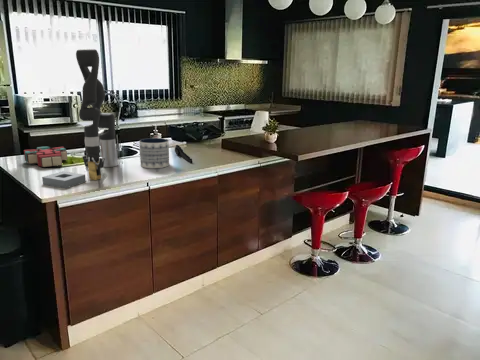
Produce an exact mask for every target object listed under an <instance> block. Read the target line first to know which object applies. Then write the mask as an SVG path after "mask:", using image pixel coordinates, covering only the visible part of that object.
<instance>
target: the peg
mask: <svg viewBox="0 0 480 360" xmlns="http://www.w3.org/2000/svg"><path fill="white" fill-rule="evenodd" d="M96 163H99V161H98V162H96ZM87 168H88V180H91V181H97V180H100V179H102V173H101V174H100V175H99V176H97V173H96V165H95V162H91V161H90V162H89V161H88V167H87ZM101 169H102V168H101ZM101 169H100V170H101ZM101 171H102V170H101Z"/></svg>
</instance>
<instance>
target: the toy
mask: <svg viewBox="0 0 480 360" xmlns="http://www.w3.org/2000/svg"><path fill="white" fill-rule="evenodd" d="M23 155H24V161H25V163H28V164H37V167H42V168H46V167H47V168H48V167H57V166H63V161H65V160H68V151H67V149H66V148H65V147H64V146H58V147H51V146H37V147H36V149H24V150H23Z"/></svg>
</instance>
